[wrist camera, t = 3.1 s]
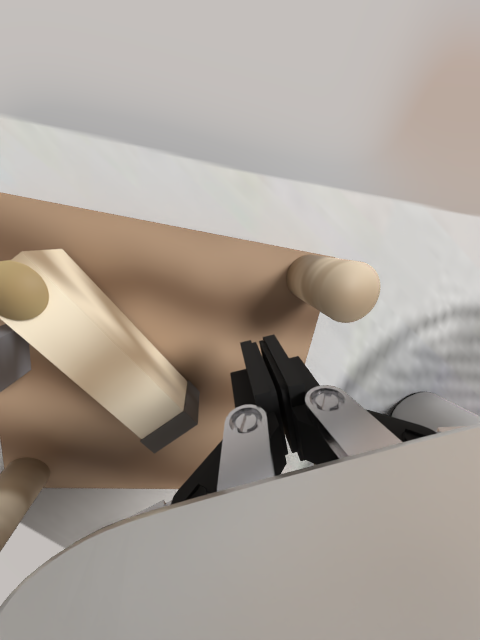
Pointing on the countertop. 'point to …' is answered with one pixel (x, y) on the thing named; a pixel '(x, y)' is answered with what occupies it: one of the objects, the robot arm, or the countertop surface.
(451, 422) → the cup
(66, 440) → the stool seat
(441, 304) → the countertop surface
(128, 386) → the folding leg
